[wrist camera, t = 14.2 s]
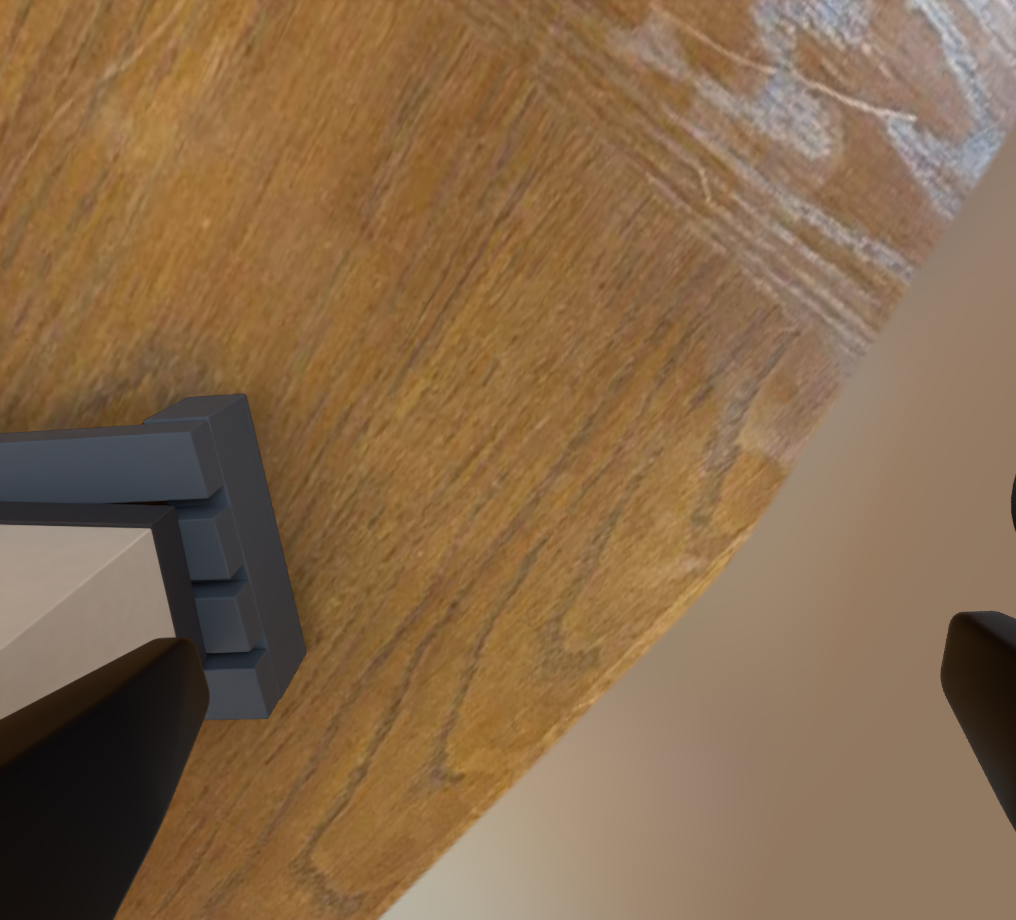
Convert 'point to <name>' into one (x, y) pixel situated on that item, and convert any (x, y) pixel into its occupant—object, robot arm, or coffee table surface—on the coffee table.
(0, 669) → the cream boot
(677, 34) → the coffee table surface
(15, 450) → the grey shipping pallet
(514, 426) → the coffee table surface
